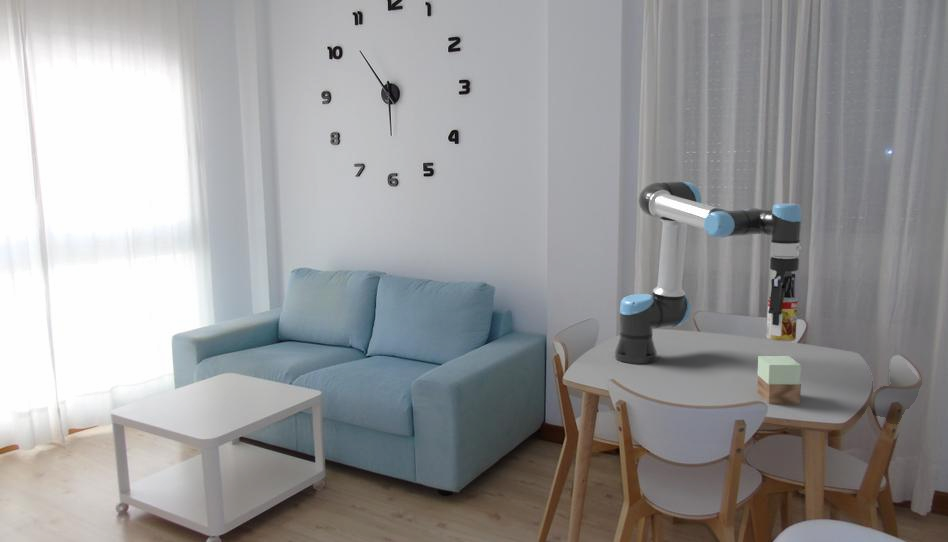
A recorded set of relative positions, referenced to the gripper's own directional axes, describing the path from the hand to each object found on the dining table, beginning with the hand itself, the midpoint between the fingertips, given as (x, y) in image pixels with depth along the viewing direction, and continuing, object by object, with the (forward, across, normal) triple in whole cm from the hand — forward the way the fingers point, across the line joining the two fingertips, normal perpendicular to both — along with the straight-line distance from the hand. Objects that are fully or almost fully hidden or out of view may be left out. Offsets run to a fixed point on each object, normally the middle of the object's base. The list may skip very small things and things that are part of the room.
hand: (780, 332), depth 191 cm
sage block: (+15, 0, 0) cm, 15 cm away
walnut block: (+21, 0, 0) cm, 21 cm away
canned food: (+2, 0, 0) cm, 2 cm away
